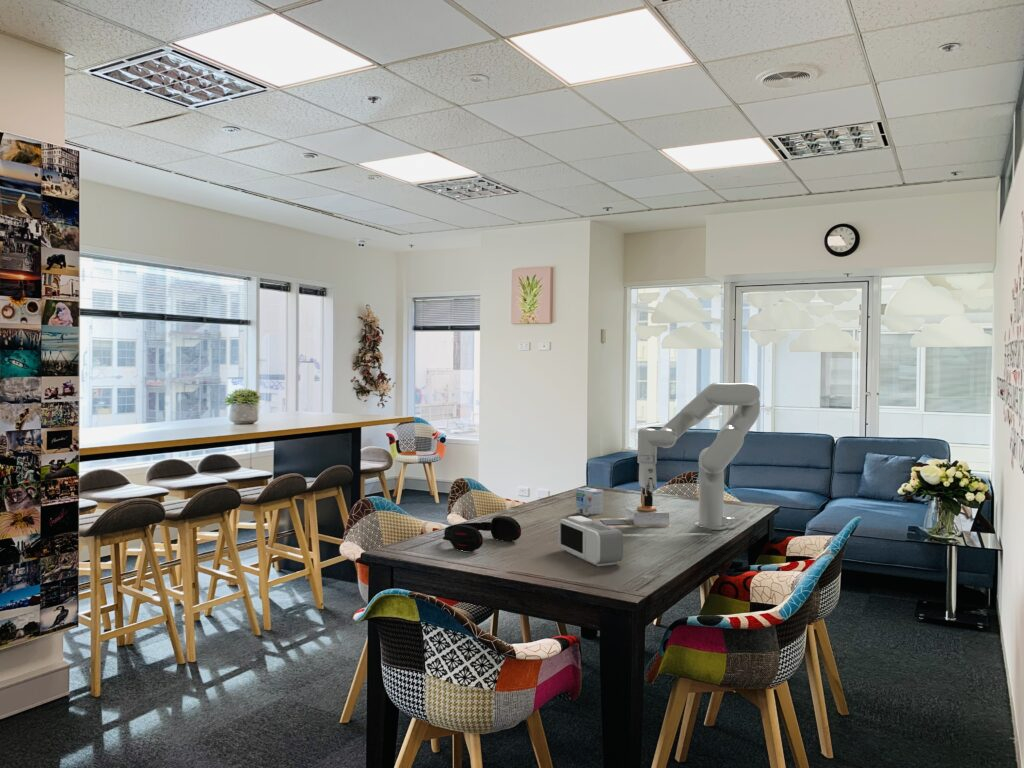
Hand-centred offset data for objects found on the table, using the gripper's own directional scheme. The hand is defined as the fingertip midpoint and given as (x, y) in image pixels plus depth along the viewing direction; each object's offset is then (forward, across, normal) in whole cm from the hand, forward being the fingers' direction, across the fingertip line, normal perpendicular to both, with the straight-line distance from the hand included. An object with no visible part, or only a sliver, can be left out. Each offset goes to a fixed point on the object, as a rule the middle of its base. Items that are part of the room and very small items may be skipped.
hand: (646, 504), depth 310 cm
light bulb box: (+8, +25, +18) cm, 32 cm away
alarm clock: (+8, -52, +34) cm, 63 cm away
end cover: (+7, 0, 0) cm, 7 cm away
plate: (+8, 0, +6) cm, 10 cm away
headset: (+9, -31, +68) cm, 75 cm away
